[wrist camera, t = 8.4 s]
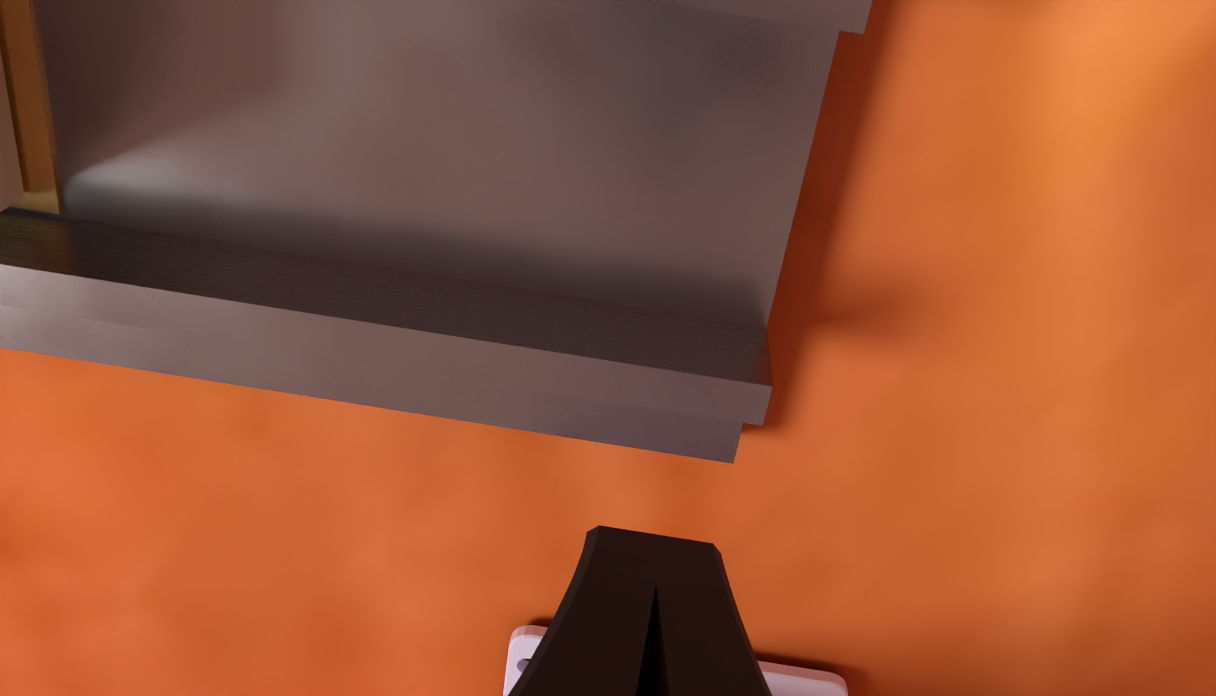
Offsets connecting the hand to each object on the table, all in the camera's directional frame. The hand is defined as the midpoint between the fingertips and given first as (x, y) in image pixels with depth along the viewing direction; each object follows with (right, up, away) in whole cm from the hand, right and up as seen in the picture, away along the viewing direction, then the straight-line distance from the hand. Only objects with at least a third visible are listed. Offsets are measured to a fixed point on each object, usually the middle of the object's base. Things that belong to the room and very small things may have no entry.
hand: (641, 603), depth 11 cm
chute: (-7, +8, +7) cm, 13 cm away
